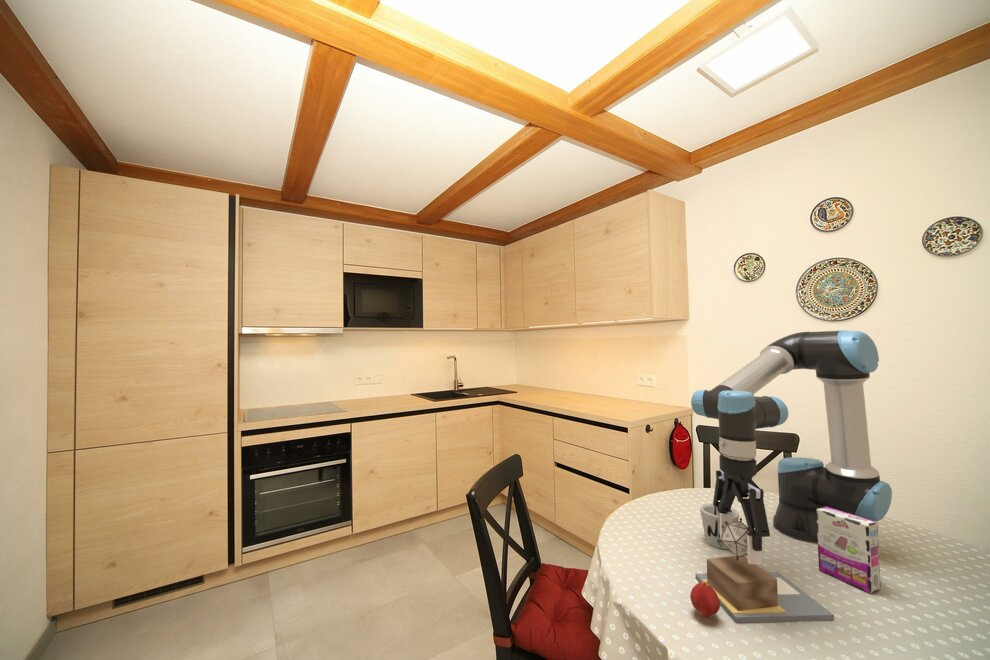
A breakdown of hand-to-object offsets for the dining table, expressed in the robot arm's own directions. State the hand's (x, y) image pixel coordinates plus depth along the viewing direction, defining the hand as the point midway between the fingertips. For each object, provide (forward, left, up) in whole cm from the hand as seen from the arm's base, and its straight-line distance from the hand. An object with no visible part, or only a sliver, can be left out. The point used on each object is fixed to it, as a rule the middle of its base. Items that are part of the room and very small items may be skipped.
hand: (739, 551), depth 91 cm
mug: (-12, -28, -12) cm, 33 cm away
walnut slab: (0, 0, -10) cm, 10 cm away
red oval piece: (+11, +5, -12) cm, 17 cm away
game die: (0, 0, -1) cm, 1 cm away
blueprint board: (-5, -1, -12) cm, 13 cm away
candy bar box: (-33, -7, -12) cm, 36 cm away
